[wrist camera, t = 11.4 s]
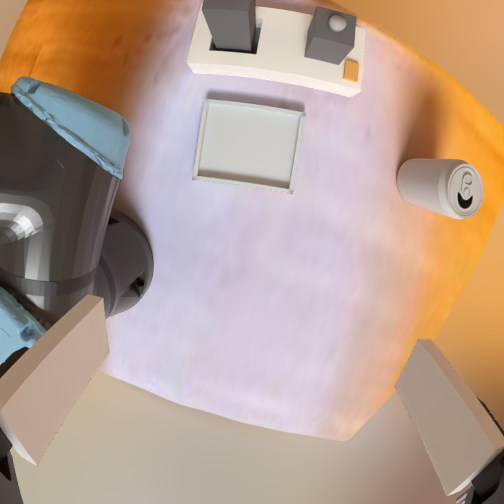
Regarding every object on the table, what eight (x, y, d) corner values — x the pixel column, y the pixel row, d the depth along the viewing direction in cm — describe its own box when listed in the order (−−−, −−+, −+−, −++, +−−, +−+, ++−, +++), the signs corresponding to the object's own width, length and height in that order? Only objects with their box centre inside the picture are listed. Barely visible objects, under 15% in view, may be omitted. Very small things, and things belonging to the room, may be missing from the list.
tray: (195, 179, 35) (192, 179, 33) (206, 101, 32) (204, 98, 30) (291, 192, 35) (292, 194, 34) (303, 114, 32) (305, 112, 31)
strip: (193, 72, 31) (169, 40, 20) (206, 16, 28) (189, -26, 17) (350, 97, 31) (385, 74, 21) (356, 40, 28) (387, 5, 18)
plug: (218, 54, 29) (199, 4, 16) (224, 28, 28) (208, -27, 15) (251, 57, 29) (247, 5, 16) (256, 31, 28) (254, -26, 15)
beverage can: (391, 200, 35) (441, 217, 23) (396, 153, 33) (448, 153, 22) (428, 207, 35) (481, 225, 23) (433, 163, 33) (489, 168, 22)
